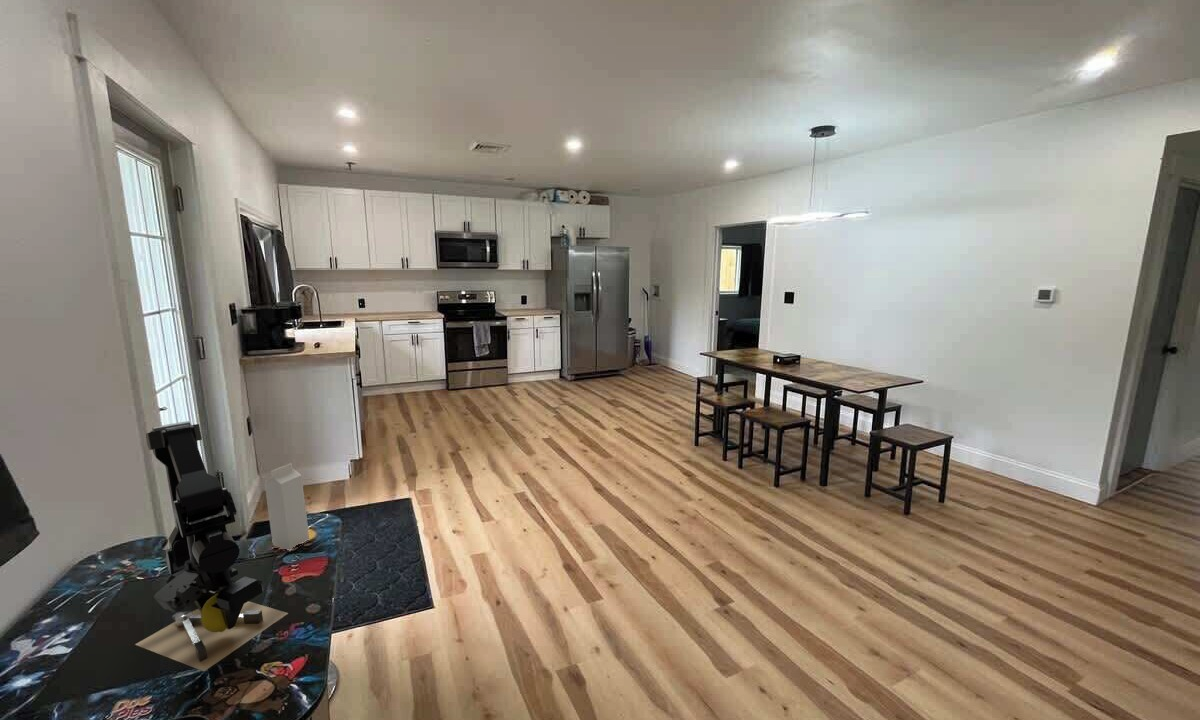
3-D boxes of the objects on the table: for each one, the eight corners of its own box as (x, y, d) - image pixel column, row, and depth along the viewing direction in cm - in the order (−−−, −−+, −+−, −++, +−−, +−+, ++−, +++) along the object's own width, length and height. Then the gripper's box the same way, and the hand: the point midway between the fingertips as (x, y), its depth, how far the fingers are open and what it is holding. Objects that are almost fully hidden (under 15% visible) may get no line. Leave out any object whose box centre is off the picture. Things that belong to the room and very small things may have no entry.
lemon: (220, 643, 91) (214, 605, 89) (196, 639, 92) (190, 602, 91) (247, 623, 96) (241, 587, 95) (224, 619, 97) (218, 584, 96)
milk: (273, 548, 128) (261, 469, 124) (293, 537, 133) (283, 461, 130) (290, 552, 126) (279, 472, 122) (310, 540, 132) (300, 463, 128)
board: (136, 650, 92) (134, 644, 92) (224, 598, 107) (223, 593, 107) (204, 677, 86) (203, 671, 85) (289, 618, 101) (288, 613, 100)
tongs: (142, 640, 93) (140, 630, 93) (208, 602, 104) (206, 593, 104) (201, 662, 87) (199, 651, 87) (264, 620, 98) (262, 610, 98)
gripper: (126, 565, 87) (140, 642, 89) (193, 586, 81) (207, 668, 83) (195, 534, 97) (206, 604, 100) (260, 551, 91) (270, 624, 93)
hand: (221, 624), depth 94 cm, fingers closed on lemon, 5 cm apart
